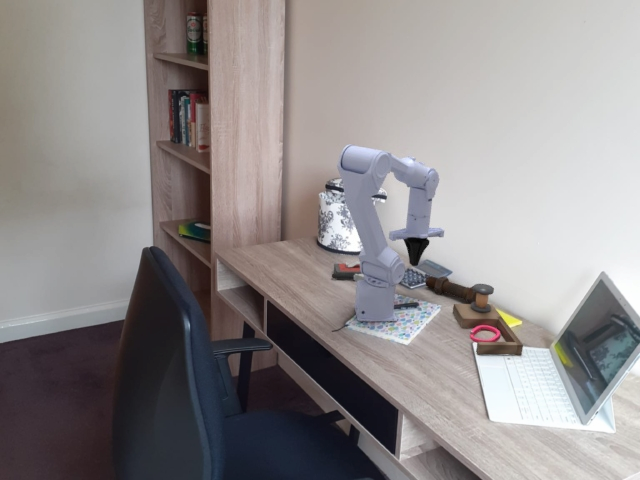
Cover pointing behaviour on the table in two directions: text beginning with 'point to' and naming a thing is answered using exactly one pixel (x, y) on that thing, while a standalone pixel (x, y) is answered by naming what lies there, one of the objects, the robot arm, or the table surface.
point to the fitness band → (487, 329)
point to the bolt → (451, 288)
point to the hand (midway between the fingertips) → (413, 264)
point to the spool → (482, 298)
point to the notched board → (492, 318)
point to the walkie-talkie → (348, 271)
